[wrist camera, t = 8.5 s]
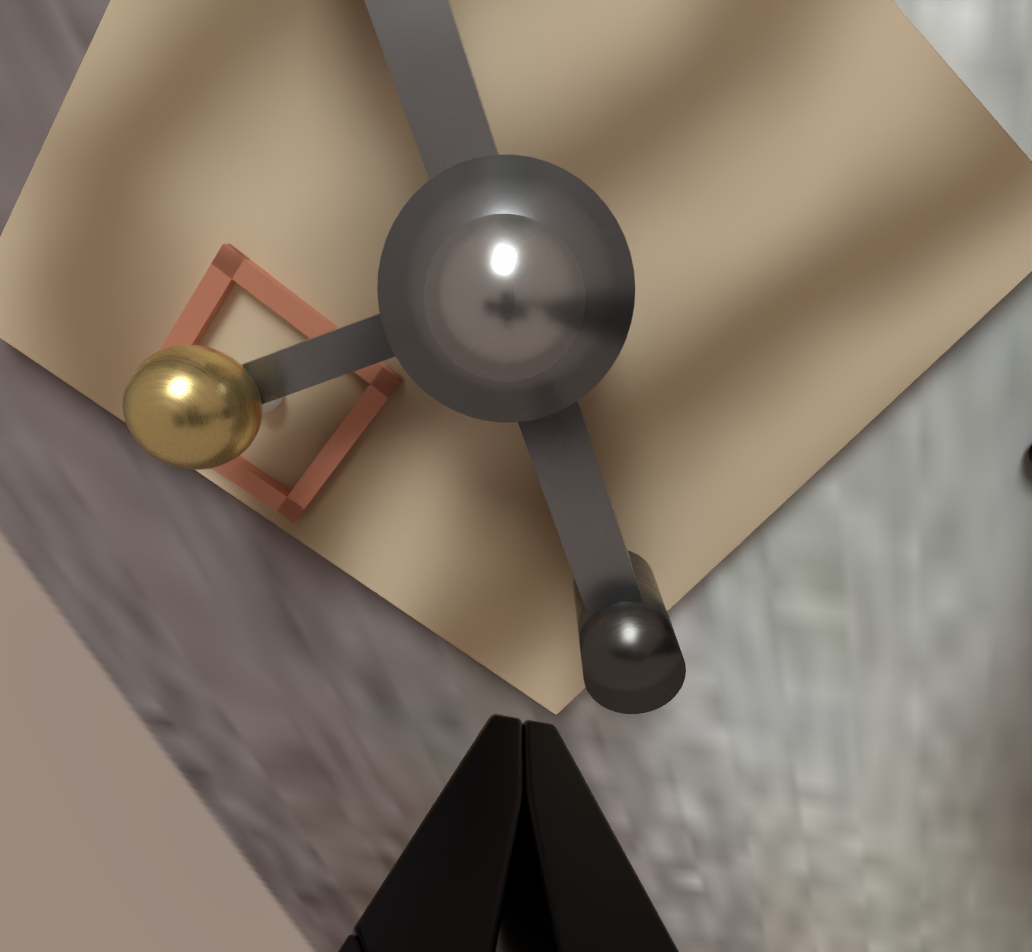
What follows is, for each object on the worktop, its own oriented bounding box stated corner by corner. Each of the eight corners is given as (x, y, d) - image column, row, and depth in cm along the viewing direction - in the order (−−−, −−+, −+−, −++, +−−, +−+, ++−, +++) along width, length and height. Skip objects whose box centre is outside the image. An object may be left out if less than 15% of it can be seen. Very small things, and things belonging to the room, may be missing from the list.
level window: (403, 378, 17) (401, 381, 17) (298, 517, 19) (293, 523, 18) (230, 243, 16) (222, 244, 16) (134, 404, 18) (125, 408, 17)
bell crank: (457, -278, 12) (416, -560, 8) (703, 587, 19) (753, 691, 15) (-24, -33, 14) (-276, -155, 9) (360, 684, 20) (315, 802, 16)
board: (1046, 223, 16) (1084, 221, 15) (555, 691, 22) (556, 715, 21) (398, -512, 12) (385, -588, 11) (0, 308, 18) (-36, 313, 17)
